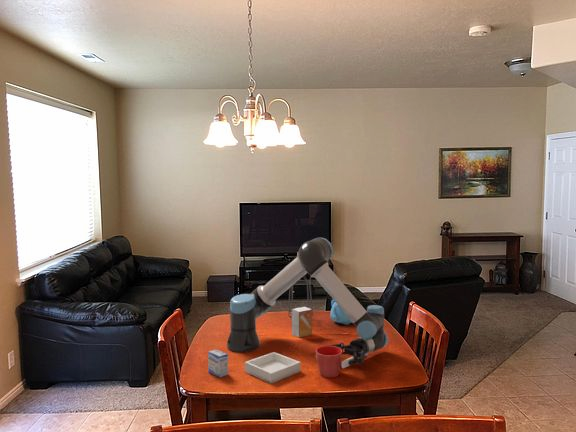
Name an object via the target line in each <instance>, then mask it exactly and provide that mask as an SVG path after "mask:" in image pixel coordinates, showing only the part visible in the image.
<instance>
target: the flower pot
mask: <svg viewBox="0 0 576 432" xmlns="http://www.w3.org/2000/svg"><path fill="white" fill-rule="evenodd" d="M316 356H317V359H316V360H317V367H318V372H319V375H320V376H322V377H323V378H335V377H336V378H337V376H338V375H340V370H341V366H342V357H343V354H342V349H341V348H339V347H336V346H326V345H321V346H319V347H317V348H315V357H316Z"/></svg>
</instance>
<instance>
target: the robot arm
mask: <svg viewBox="0 0 576 432" xmlns="http://www.w3.org/2000/svg"><path fill="white" fill-rule="evenodd" d="M333 250H334V248H333V245H332V243H331V242H330V241H329V240H328V239H327V238H325V237H316V238H313V239H310V240H308V241H305V242H304V243H303V244H301V245H300V247H299V249H298V251H297V252H296V253H297V255H296V258H294V259H293V260H292V261H291V262H289V263H288V264H289V265H288V264H287V265H285V266H286V267H285V266H284V268H283V269H282V270H280V271H279V272H278V273H277V274H276V275H275V276H274V277H273V278H271V279H270V280H269V281H268V282H267V283H266V284H265V285H258V286H257V287H256V288H255V289H254V290H253V291H252V292H251V293H240V294H236V295H235V296H233V297H232V298H231V299H230V305H229V317H230V332H229V334H228V338H227V343H226V348H227V349H228V350H229V351H232V352H237V353H245V352H246V353H247V352H252V351H255V350H257V349H259V348H260V345H261V343H260V338H259V335H258V333H257V328H256V327H257V324H256V322H257V319H258V318H260V317H261V316H262V315H263V316H264V315H265V314H267V313H268V312H269V311H270V310H271V308H273V307H274V306H275V304H276V300H277V299H278V298H279V297H280V296H282V295H283V294H284V293H285V292H287V291H288V290H289V288H290V289H291V286H292V285H293V284H297V282H299V281H298V280H301V278H303V276H306V275H307V274H308V275H309V276H311V278H315V279H316V281H317V282H318V283H319V284H320V285H321V287H322V288H323V289H324V290H325V292H327V294H328V295H329V296H330V297H331V300H334V302H336V303H337V304H338V306H339V307H340V308H341V309H342V310H343V312H344V313H345V314H346V315H347V316H348V318H349V319H350V320H351V321H352V322H353V323H352V324H353V325H354V326H355V327H356V332H357V333H356V334H357V335H358V336H359V337H358V338H355V339H353V340H352V341H351V342H350V343H349V344H347V345H345V344H344V343H343V342H341V343H335V344H327V345H325V346H336V347H339V348H341V349H342V355H348V356H350V357H348V358H346V359H344V360H343V359H342V360H341V368H342V369H346V368H347V367H350V366H352V365H357V364H358V365H360V366H361V365H362V364H363V363H364V361H365V359H366V358H367V357H368V354H371V353H373V352H375V351H378V350H381V349H383V348H384V347H386V346H387V345H388V343H389V336H388V334H387V332H385V329H384V328H385V324H384V323H385V308H384V307H383V306H382V305H377V304H371V305H368V306H367V307H366V309H365V308H364V307H363V305H362V304H361V303H360V302H359V300H357V298H356V297H355V296H354V295H353V294H352V293H351V291H350V290H349V289H348V288H347V286H346V285H345V284H344V283H343V281H341V280H340V278H339V277H338V275H336V274H335V272H334V271H333V270H332V269H331V268H330V266H329V262H328V261H330V259H331V258H332V257H333V254H334V251H333ZM307 272H308V273H307ZM306 273H307V274H306ZM293 286H294V285H293ZM315 359H316V360H317V356H316V355H315Z"/></svg>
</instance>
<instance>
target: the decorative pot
mask: <svg viewBox="0 0 576 432" xmlns="http://www.w3.org/2000/svg"><path fill="white" fill-rule="evenodd" d="M330 304H331V309H330V316H329V317H330V319H331V320H332V321H333V322H334V323H339V324H344V326H349V325H350V324H353V322H352V321H351V320H350V319H349V318H348V316H347V315H346V314H345V313H344V312H343V310H342V309H341V308H340V307H339V306H338V304H337V303H336V302H335V301H334V300H333V299H331V302H330Z"/></svg>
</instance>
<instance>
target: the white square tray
mask: <svg viewBox="0 0 576 432" xmlns="http://www.w3.org/2000/svg"><path fill="white" fill-rule="evenodd" d="M301 367H302V366H301V361H299V360H296V359H293V358H291V357H289V356H285V355H283V354H280V353H278V352H275V351H273V352H270V353H267V354H264V355H261V356H259V357H255V358H252V359H250V360H247V361H245V362H244V372H245V373H247V374H249V375H252V376H254V377H256V378H258V379H260V380H262V381H264V382H265V383H266V382H267V383H269V384H274V383H276V382H278V381H281V380H283V379H286V378H289V377H290V376H293V375H295V374H298V373H301V369H302V368H301Z"/></svg>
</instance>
